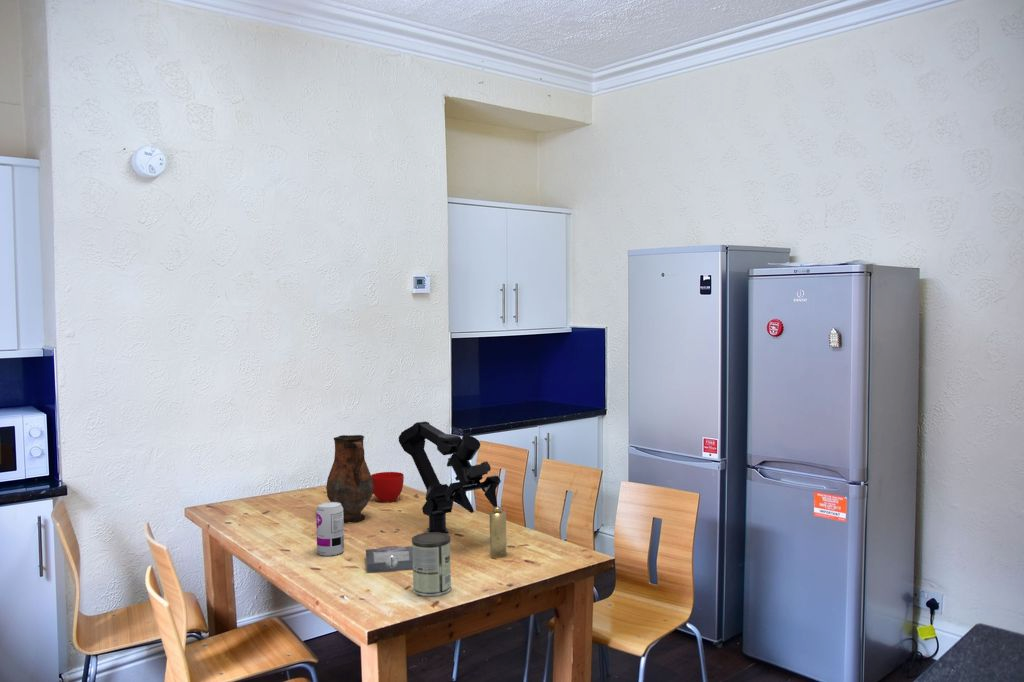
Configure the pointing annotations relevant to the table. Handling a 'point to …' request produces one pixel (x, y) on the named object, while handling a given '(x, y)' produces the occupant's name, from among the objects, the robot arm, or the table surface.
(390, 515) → the table surface
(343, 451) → the pitcher
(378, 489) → the ceramic cup
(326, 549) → the supplement can
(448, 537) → the coffee can
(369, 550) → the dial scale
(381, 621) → the table surface
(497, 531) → the brass weight
